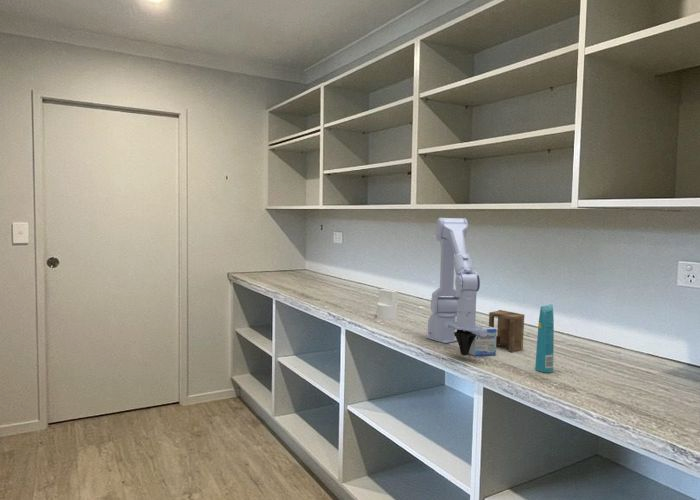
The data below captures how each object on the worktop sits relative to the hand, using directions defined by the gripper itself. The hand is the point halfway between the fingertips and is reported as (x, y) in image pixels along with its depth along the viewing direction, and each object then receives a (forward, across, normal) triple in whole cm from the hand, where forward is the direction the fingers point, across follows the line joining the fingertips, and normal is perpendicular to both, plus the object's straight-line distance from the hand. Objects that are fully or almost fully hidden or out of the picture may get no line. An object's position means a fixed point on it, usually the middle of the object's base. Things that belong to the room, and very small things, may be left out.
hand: (464, 354), depth 153 cm
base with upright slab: (+2, -59, +22) cm, 63 cm away
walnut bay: (+1, 0, +22) cm, 22 cm away
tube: (+1, +21, +10) cm, 23 cm away
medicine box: (+2, 0, +9) cm, 9 cm away
